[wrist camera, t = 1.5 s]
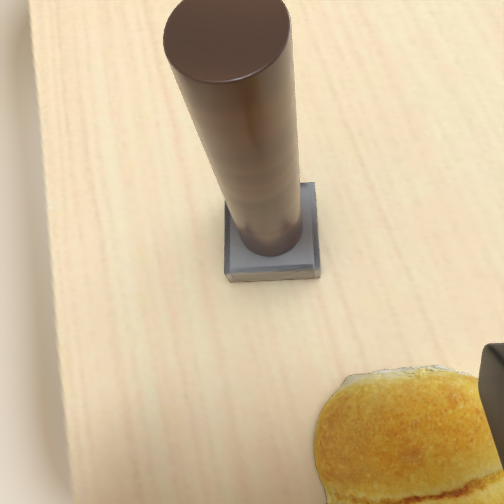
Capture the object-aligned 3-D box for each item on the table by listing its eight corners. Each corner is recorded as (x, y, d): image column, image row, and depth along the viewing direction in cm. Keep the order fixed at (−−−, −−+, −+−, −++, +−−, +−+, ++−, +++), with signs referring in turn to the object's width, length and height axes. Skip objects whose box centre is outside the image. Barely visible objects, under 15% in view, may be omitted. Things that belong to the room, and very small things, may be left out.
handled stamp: (320, 278, 22) (329, 100, 10) (229, 282, 23) (126, 118, 10) (314, 195, 24) (316, -53, 11) (229, 201, 24) (139, -31, 12)
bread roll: (340, 621, 18) (347, 676, 14) (303, 381, 21) (301, 374, 17) (563, 601, 17) (633, 653, 13) (492, 356, 20) (533, 343, 16)
